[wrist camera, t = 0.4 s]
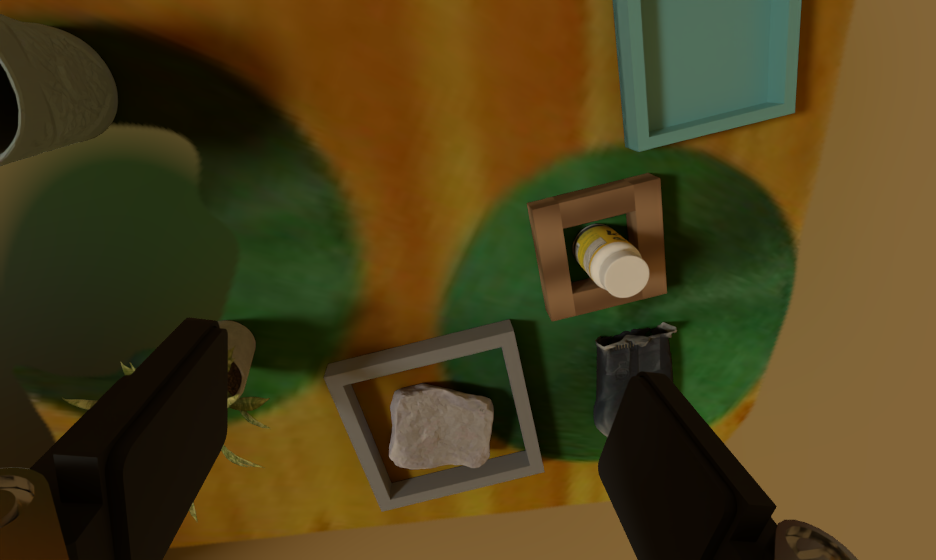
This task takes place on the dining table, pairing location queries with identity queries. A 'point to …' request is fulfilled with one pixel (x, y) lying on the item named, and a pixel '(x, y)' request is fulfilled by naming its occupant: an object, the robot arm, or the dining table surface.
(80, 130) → the gray cup
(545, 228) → the square wooden frame
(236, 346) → the house plant
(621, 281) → the supplement bottle
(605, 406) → the electronic device
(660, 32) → the tray
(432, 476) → the gray rectangular frame
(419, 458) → the stone block
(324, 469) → the dining table surface
